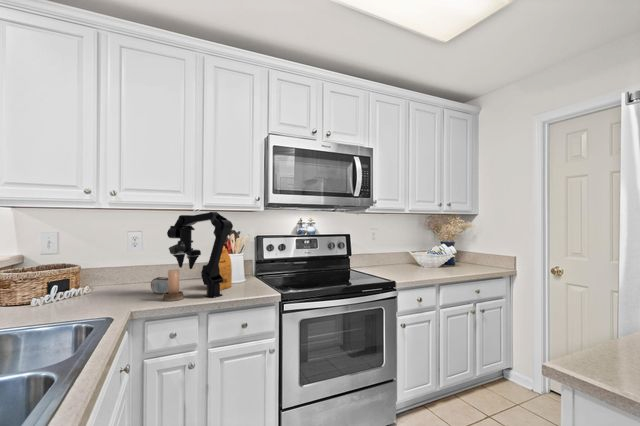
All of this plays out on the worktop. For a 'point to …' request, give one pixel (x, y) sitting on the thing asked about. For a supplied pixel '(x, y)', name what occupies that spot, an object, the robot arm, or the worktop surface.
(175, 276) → the canister
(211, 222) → the robot arm
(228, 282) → the coffee package
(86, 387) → the worktop surface
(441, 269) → the worktop surface
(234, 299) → the worktop surface
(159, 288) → the tin
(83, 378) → the worktop surface
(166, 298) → the holder
